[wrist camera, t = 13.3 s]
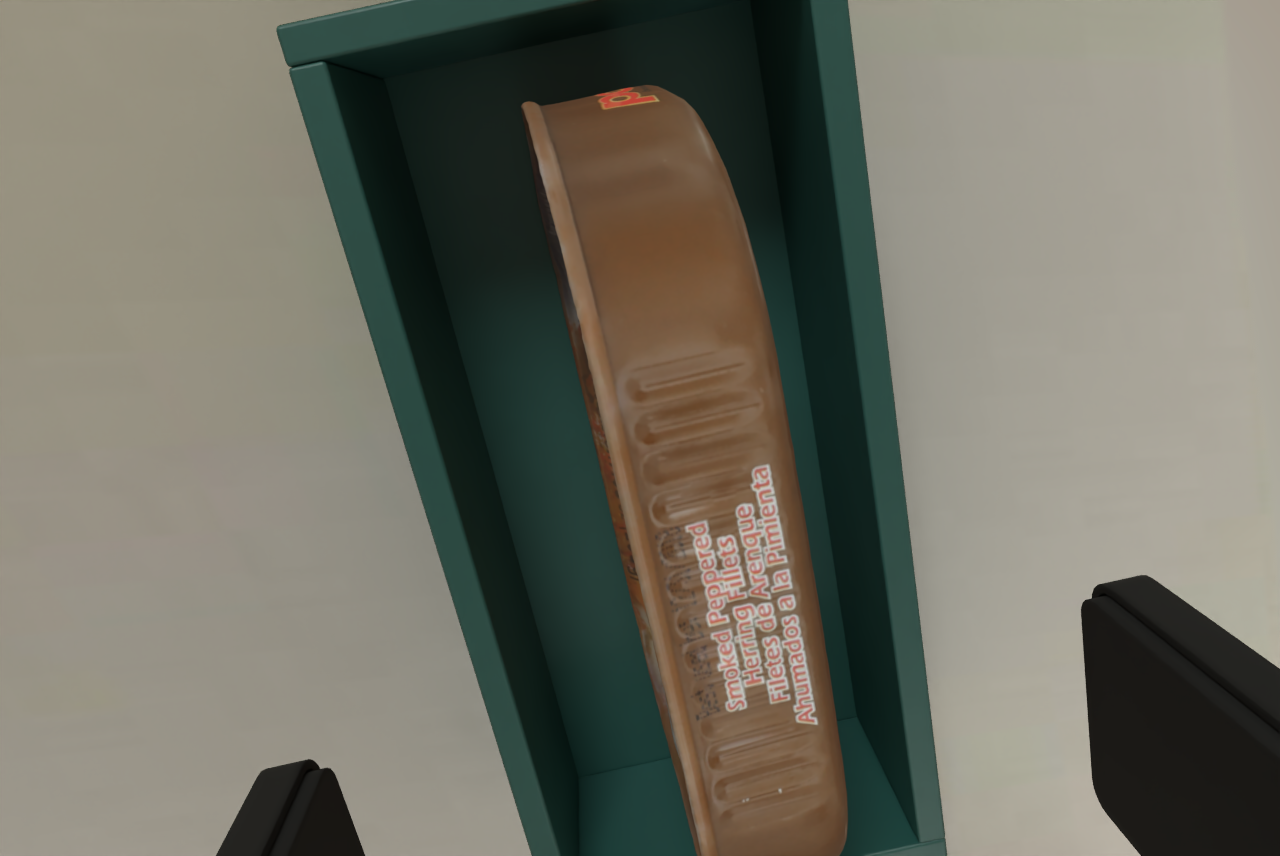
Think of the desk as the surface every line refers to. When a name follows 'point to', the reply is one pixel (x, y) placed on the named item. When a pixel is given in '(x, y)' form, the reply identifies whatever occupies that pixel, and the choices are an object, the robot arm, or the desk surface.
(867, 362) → the box
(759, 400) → the tin
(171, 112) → the desk surface
